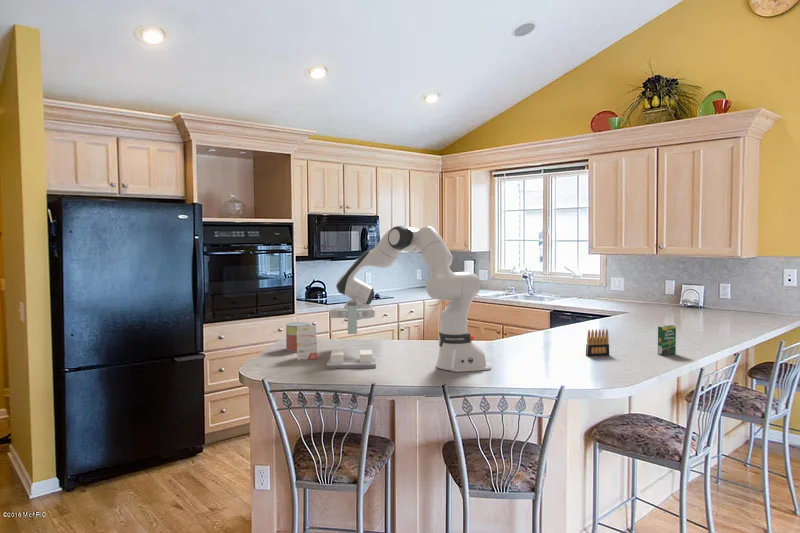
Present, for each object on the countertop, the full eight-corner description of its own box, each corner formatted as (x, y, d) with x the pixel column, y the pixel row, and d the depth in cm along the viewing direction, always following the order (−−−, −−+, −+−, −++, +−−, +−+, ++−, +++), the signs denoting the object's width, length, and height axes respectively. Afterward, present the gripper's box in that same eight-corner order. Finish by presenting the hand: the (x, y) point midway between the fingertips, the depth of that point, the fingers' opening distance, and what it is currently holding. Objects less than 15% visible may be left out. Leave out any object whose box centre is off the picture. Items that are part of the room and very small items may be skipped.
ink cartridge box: (316, 356, 255) (316, 323, 254) (316, 359, 250) (316, 325, 249) (296, 357, 253) (296, 324, 252) (297, 359, 248) (296, 326, 247)
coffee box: (661, 355, 256) (662, 326, 255) (656, 354, 259) (657, 325, 258) (676, 354, 258) (676, 325, 258) (671, 353, 261) (672, 324, 260)
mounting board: (375, 361, 245) (375, 349, 245) (375, 367, 234) (375, 355, 233) (328, 361, 244) (328, 349, 244) (326, 368, 232) (326, 356, 232)
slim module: (357, 332, 255) (356, 301, 254) (356, 333, 251) (356, 302, 250) (348, 332, 255) (347, 301, 254) (347, 334, 251) (347, 302, 250)
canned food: (312, 346, 276) (312, 322, 275) (306, 351, 265) (306, 326, 264) (290, 346, 277) (289, 322, 277) (283, 351, 266) (282, 325, 265)
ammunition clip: (587, 356, 255) (588, 329, 254) (585, 355, 256) (586, 329, 256) (609, 355, 257) (610, 329, 256) (607, 354, 259) (607, 328, 258)
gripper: (330, 304, 265) (328, 308, 251) (374, 304, 266) (375, 308, 252) (330, 318, 265) (328, 322, 251) (374, 317, 266) (375, 322, 252)
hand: (352, 315), depth 252 cm, fingers closed on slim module, 4 cm apart
